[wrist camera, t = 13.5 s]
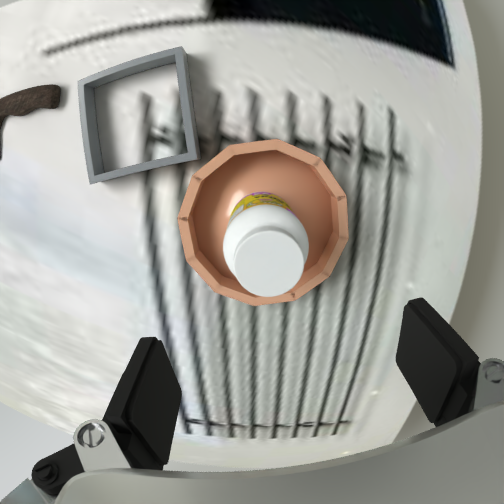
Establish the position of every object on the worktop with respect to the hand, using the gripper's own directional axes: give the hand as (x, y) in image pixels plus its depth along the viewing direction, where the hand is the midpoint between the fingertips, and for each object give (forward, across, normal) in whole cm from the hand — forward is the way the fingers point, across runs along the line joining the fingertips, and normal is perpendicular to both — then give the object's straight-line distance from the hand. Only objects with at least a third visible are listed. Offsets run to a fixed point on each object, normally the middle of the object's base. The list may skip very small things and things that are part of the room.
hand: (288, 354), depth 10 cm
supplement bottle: (+22, 0, +1) cm, 22 cm away
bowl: (+23, 0, +1) cm, 23 cm away
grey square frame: (+23, +12, -13) cm, 29 cm away
